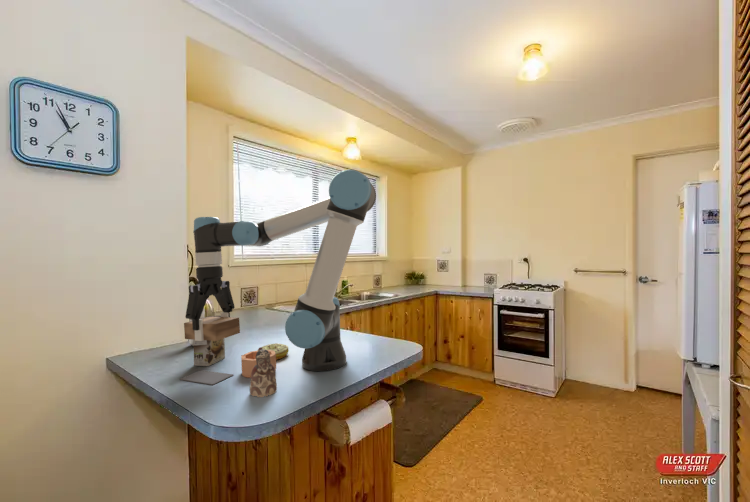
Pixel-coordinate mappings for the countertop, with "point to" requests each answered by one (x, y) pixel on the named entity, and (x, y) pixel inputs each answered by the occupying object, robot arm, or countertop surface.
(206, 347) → the coffee box
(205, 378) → the mat
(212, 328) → the brown wooden block
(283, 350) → the decorated donut
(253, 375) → the figurine
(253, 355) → the bowl
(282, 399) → the countertop surface
